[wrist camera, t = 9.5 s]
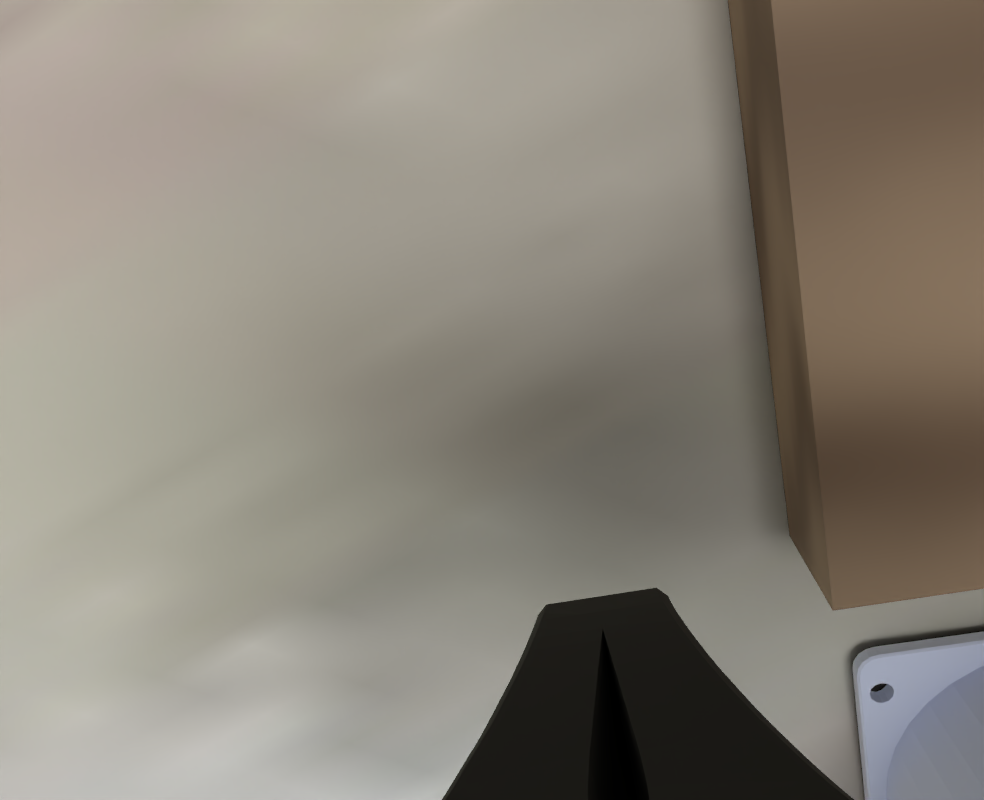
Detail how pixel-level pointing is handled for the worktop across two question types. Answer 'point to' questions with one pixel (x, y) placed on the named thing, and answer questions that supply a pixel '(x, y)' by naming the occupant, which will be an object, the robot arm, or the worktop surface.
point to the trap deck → (872, 282)
